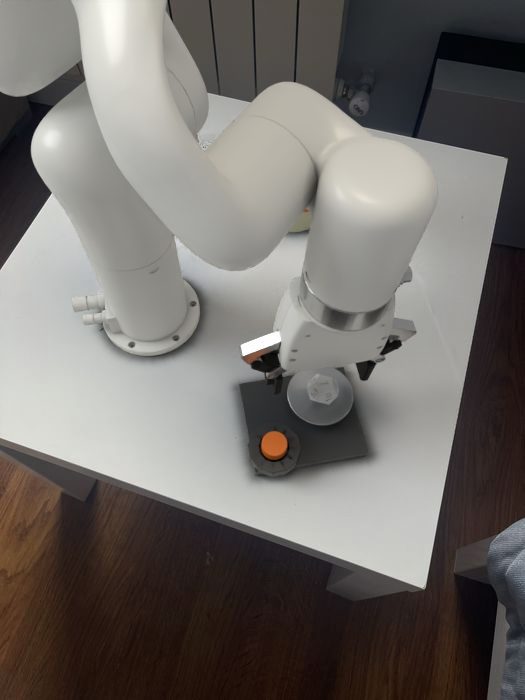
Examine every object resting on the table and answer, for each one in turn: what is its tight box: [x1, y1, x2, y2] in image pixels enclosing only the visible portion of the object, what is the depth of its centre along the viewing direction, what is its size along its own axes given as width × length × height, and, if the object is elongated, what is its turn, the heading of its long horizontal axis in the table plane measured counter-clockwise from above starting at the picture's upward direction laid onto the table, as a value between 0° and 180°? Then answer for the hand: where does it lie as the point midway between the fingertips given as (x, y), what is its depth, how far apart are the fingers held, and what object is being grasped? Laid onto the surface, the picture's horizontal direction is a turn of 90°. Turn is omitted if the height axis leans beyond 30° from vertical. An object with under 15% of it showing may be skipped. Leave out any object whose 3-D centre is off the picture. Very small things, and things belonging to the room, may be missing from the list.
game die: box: [307, 374, 339, 405], centre depth 60 cm, size 4×4×3 cm
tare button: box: [261, 431, 287, 460], centre depth 59 cm, size 3×3×2 cm
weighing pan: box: [287, 366, 354, 426], centre depth 62 cm, size 8×8×1 cm
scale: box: [238, 366, 369, 478], centre depth 62 cm, size 13×12×3 cm
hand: (317, 375), depth 58 cm, fingers open, 9 cm apart
